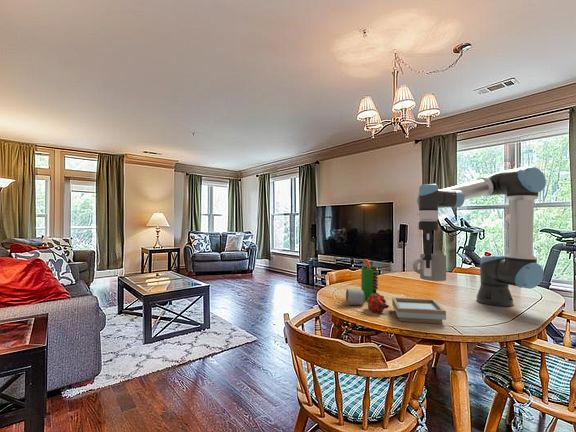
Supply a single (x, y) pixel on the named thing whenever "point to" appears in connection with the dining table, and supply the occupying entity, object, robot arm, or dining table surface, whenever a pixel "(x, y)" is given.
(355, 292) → the ceramic mug
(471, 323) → the dining table surface
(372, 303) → the dragon fruit
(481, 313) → the dining table surface
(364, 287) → the green and brown toy
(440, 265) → the coffee mug
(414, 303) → the picture frame
